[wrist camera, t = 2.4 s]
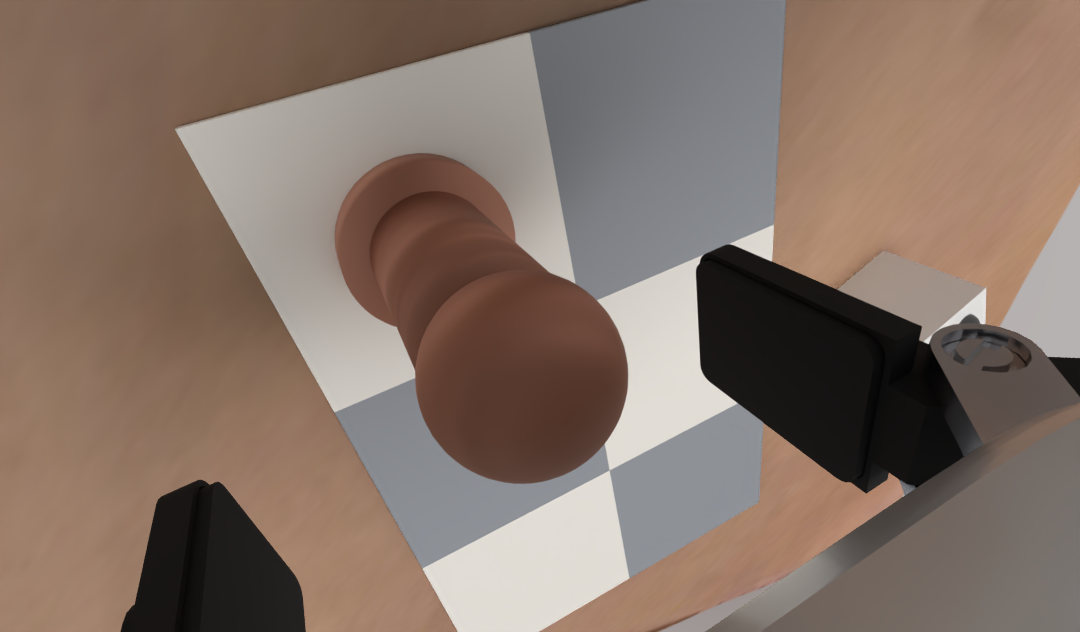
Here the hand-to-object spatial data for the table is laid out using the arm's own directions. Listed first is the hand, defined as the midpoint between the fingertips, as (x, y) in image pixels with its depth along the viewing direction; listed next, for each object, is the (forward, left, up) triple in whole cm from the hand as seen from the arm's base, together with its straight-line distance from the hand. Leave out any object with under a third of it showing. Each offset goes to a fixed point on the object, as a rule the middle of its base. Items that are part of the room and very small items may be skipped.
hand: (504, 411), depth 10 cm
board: (-5, +9, -9) cm, 14 cm away
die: (-21, +12, -9) cm, 26 cm away
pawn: (-1, 0, -8) cm, 8 cm away
